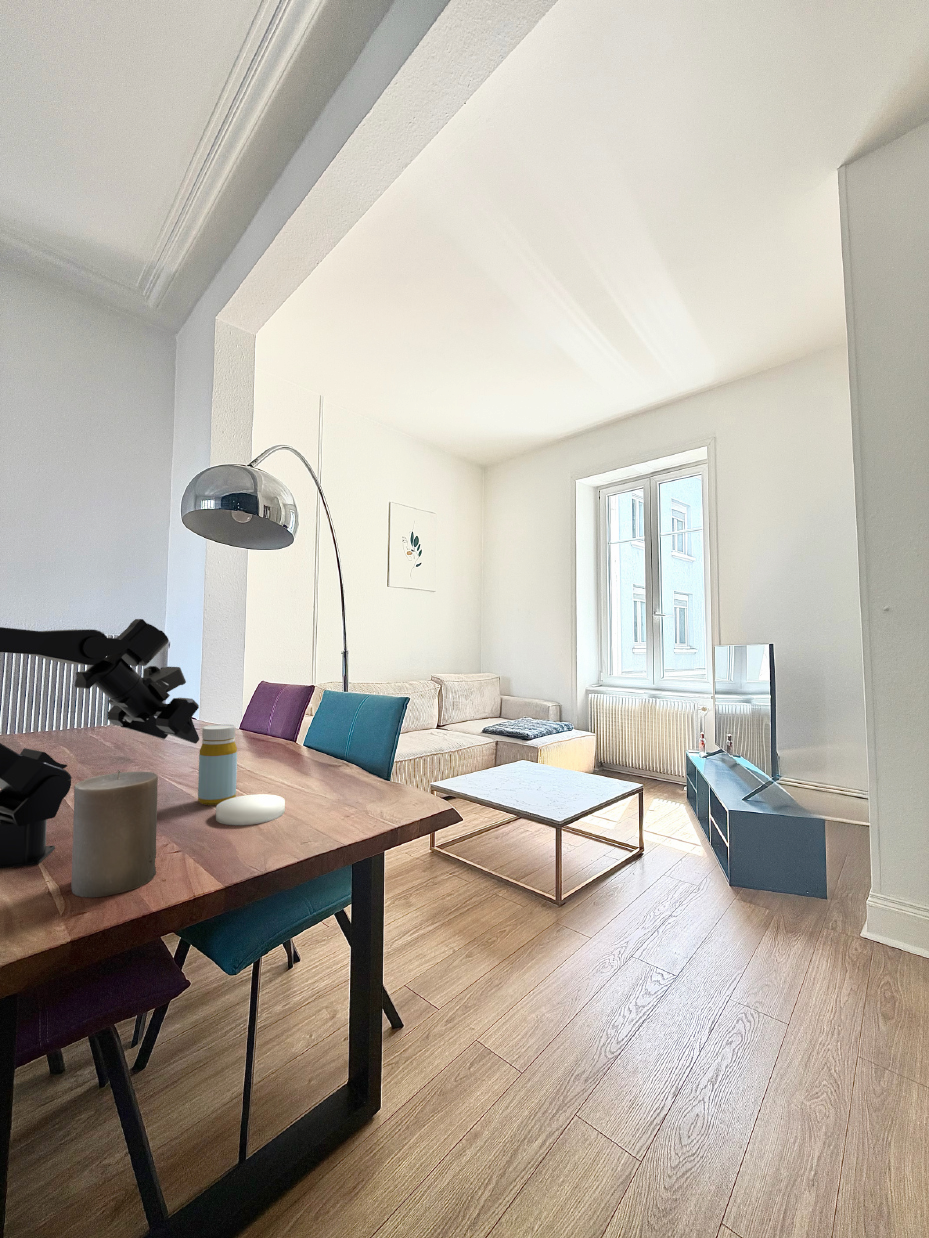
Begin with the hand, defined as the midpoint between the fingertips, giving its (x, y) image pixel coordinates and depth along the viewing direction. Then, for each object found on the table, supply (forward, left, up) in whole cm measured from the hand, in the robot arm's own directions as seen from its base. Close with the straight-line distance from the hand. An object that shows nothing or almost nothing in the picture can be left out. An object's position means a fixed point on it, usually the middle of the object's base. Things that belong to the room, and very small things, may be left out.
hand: (181, 739), depth 101 cm
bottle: (+6, -6, -14) cm, 16 cm away
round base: (-5, -13, -14) cm, 20 cm away
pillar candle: (-29, +3, -14) cm, 33 cm away
